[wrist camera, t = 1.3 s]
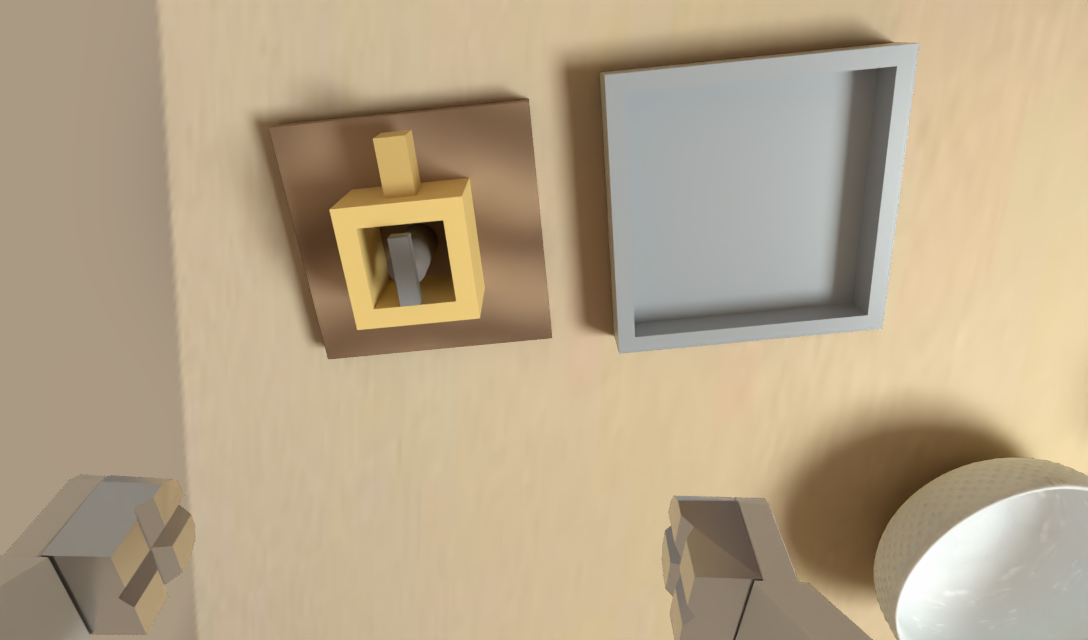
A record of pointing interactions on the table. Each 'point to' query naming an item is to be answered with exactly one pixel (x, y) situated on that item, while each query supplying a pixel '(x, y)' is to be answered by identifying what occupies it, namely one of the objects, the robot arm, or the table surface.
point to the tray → (754, 194)
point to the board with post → (421, 248)
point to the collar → (405, 205)
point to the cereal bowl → (989, 555)
